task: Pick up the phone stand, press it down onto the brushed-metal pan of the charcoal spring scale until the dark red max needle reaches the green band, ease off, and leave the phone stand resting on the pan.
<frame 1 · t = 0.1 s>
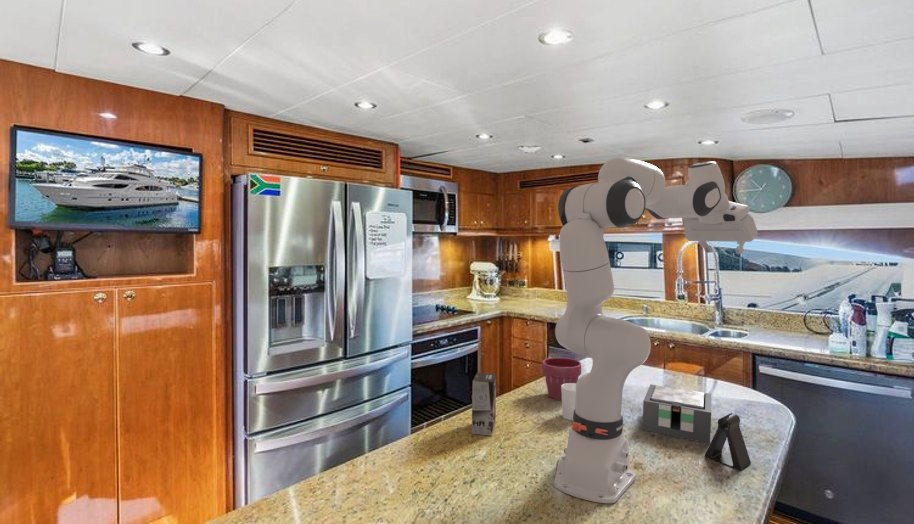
hand: (723, 252, 141), 54 cm above the countertop, tool tilted 30°, fingers open, 8 cm apart
coffee box: (484, 429, 137), on the countertop
plant pot: (561, 396, 166), on the countertop
scale housing: (677, 425, 141), on the countertop
max needle: (676, 409, 133), point 8 cm above the countertop, slide at 0.0 cm
phone stand: (727, 461, 119), on the countertop
white cup: (572, 417, 147), on the countertop
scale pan: (677, 398, 139), point 9 cm above the countertop, slide at 0.3 cm
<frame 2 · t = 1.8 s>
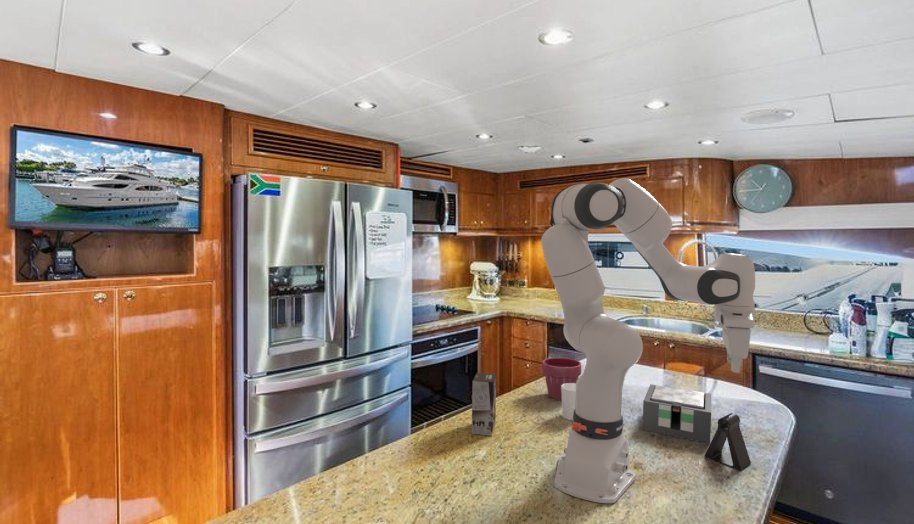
hand: (733, 366, 119), 25 cm above the countertop, tool pointing down, fingers open, 8 cm apart
nothing on the countertop moved.
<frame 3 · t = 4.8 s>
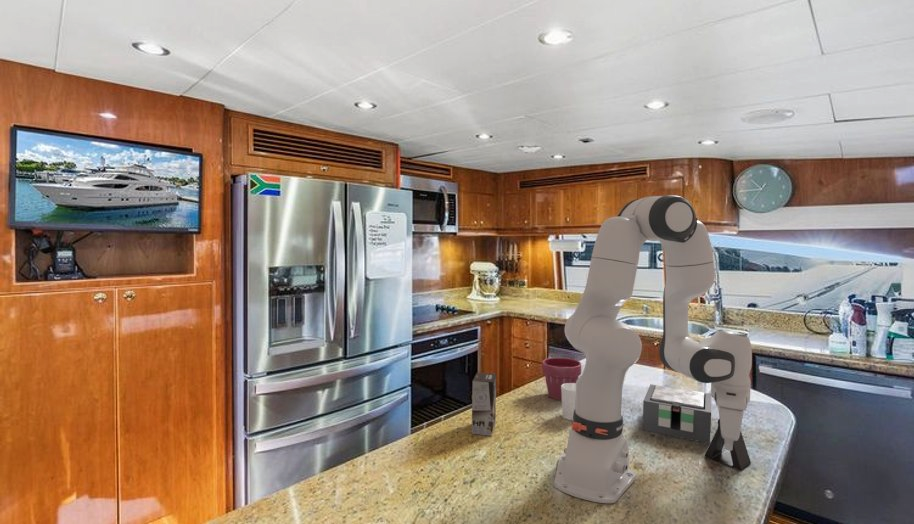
hand: (727, 443, 119), 5 cm above the countertop, tool pointing down, fingers closed on phone stand, 6 cm apart
phone stand: (727, 461, 119), on the countertop, touching gripper
everything else where it was.
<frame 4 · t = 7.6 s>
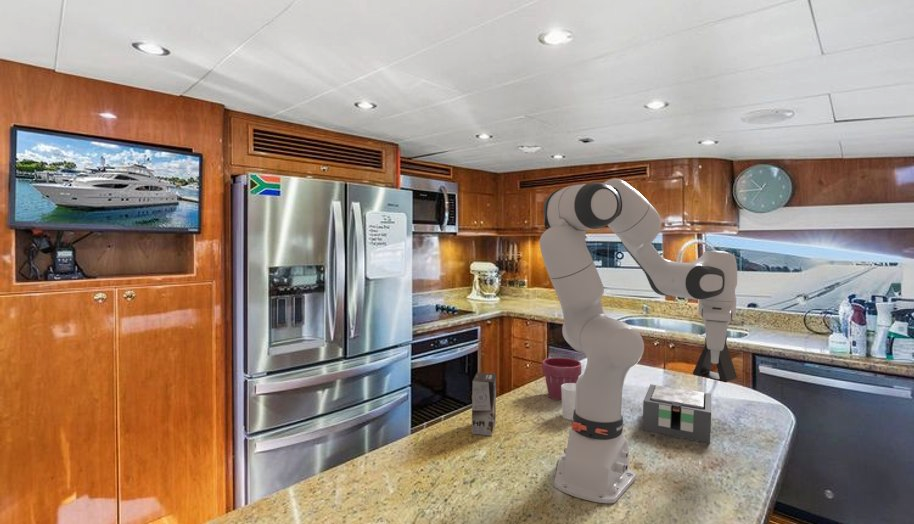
hand: (714, 359, 124), 25 cm above the countertop, tool pointing down, fingers closed on phone stand, 6 cm apart
phone stand: (714, 377, 124), point 20 cm above the countertop, touching gripper
everything else where it was.
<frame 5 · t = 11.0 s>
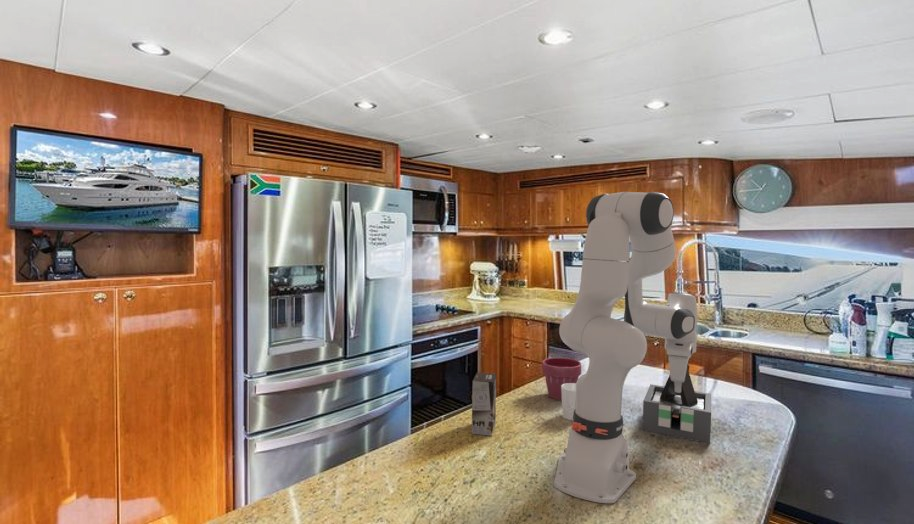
hand: (678, 388, 140), 12 cm above the countertop, tool pointing down, fingers closed on phone stand, 6 cm apart
max needle: (675, 415, 133), point 6 cm above the countertop, slide at 1.8 cm, touching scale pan
phone stand: (678, 402, 141), point 7 cm above the countertop, touching gripper, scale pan
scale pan: (677, 404, 139), point 7 cm above the countertop, slide at 2.3 cm, touching phone stand, max needle
everything else where it was.
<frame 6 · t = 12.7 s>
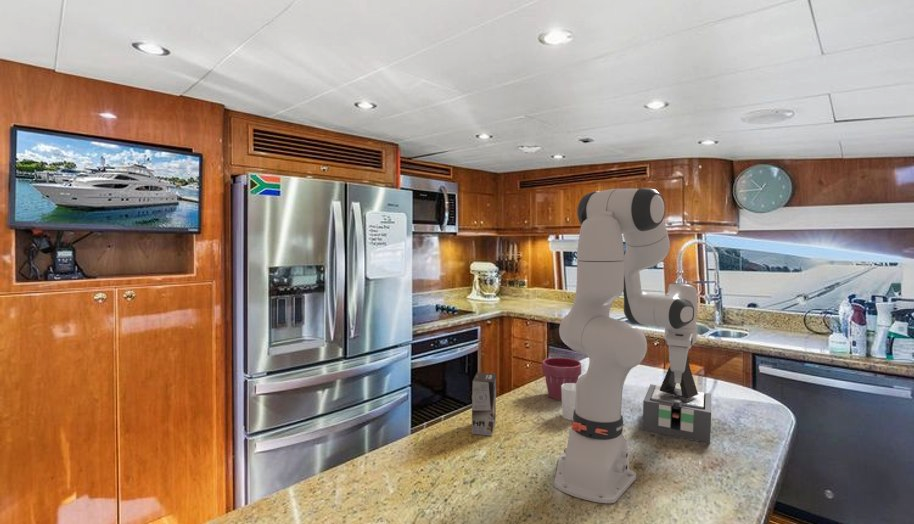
hand: (678, 379, 140), 15 cm above the countertop, tool pointing down, fingers closed on phone stand, 6 cm apart
max needle: (675, 415, 133), point 6 cm above the countertop, slide at 1.9 cm
phone stand: (678, 393, 140), point 10 cm above the countertop, touching gripper
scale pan: (677, 398, 139), point 9 cm above the countertop, slide at 0.4 cm
everything else where it was.
when the fingers open (15 cm above the countertop, at t = 13.6 s): phone stand drops 2 cm, resting on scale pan.
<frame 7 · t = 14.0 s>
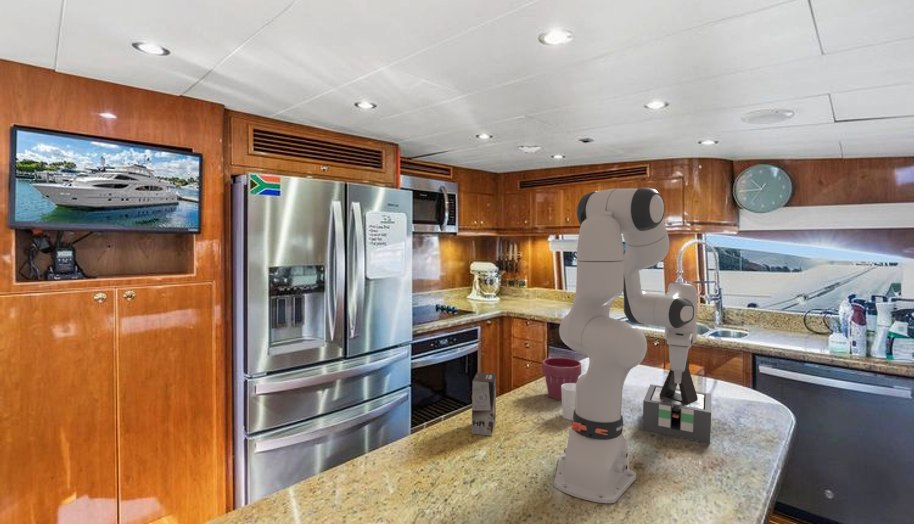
hand: (678, 378, 140), 15 cm above the countertop, tool pointing down, fingers open, 8 cm apart
phone stand: (678, 398, 140), point 9 cm above the countertop, touching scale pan
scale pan: (677, 400, 139), point 8 cm above the countertop, slide at 1.1 cm, touching phone stand
everything else where it was.
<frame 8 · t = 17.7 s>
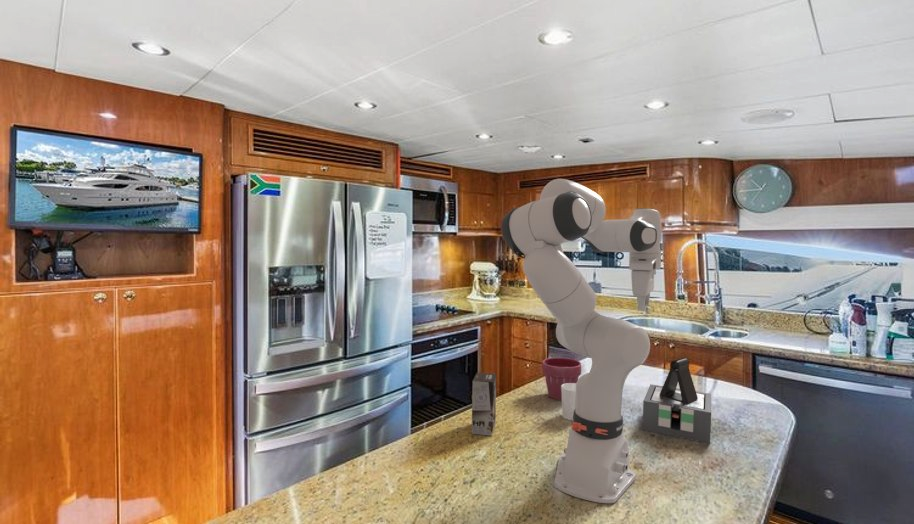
hand: (643, 308, 137), 37 cm above the countertop, tool pointing down, fingers open, 8 cm apart
nothing on the countertop moved.
at the end: max needle slide at 1.9 cm; phone stand touching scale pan; phone stand tilted 0° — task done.
